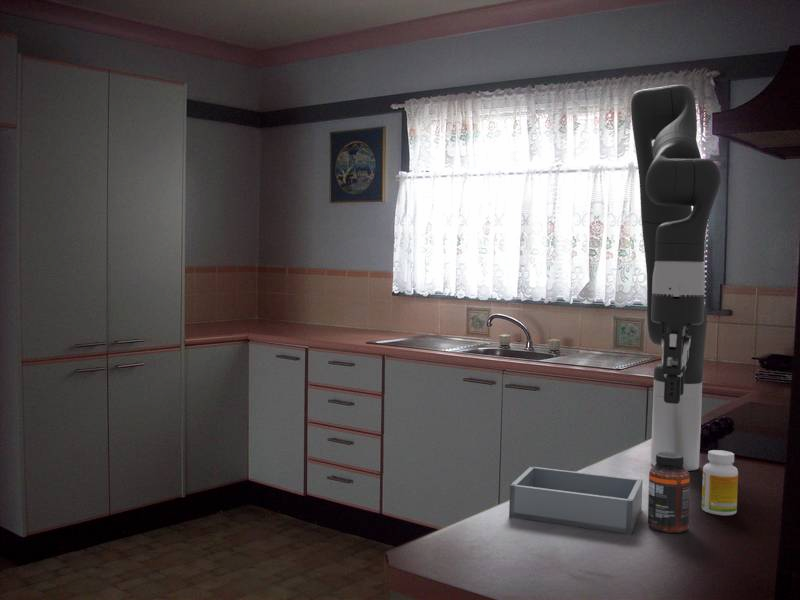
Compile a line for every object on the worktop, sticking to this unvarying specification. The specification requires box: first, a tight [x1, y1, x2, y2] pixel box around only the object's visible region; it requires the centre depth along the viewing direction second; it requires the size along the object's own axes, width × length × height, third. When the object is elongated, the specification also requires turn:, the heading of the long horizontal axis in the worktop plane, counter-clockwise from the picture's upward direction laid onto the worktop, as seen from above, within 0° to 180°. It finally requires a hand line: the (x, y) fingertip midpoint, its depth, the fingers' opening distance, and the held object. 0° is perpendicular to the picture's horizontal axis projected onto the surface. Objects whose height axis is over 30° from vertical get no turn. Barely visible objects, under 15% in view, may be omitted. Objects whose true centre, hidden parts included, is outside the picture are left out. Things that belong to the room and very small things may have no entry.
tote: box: [508, 466, 644, 535], centre depth 131 cm, size 14×19×5 cm
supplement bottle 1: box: [647, 452, 691, 534], centre depth 125 cm, size 6×6×11 cm
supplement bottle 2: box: [701, 449, 739, 516], centre depth 134 cm, size 5×5×10 cm
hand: (673, 398), depth 124 cm, fingers open, 8 cm apart
